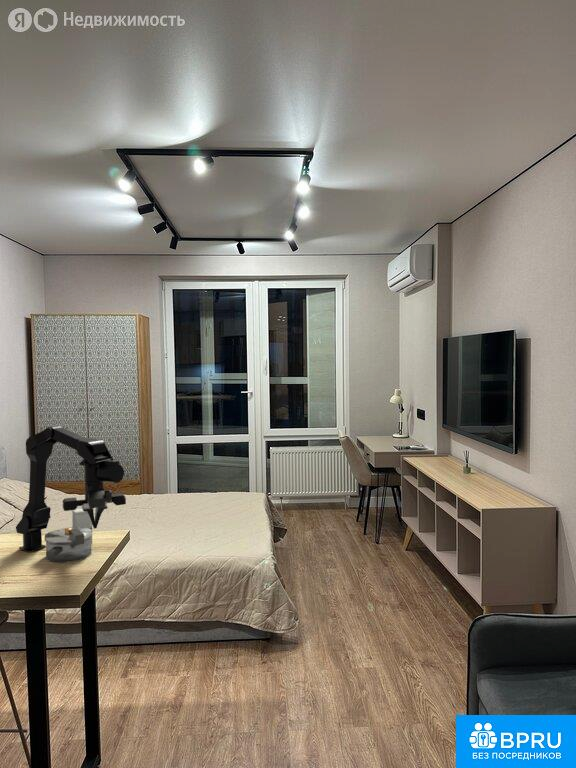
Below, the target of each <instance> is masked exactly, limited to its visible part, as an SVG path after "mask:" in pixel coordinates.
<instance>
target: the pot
mask: <svg viewBox="0 0 576 768" xmlns="http://www.w3.org/2000/svg"><path fill="white" fill-rule="evenodd" d="M45 546H46V547H45V556H46V557H45V558H46V560H47V561H48V562H50V563H55V564H57V563H58V564H62V563H73V562H78V561H81V560H84V559H87V558H89V557H90V556H91V555H92V544H91V537H90V538H88V539H85V540H84V544H80V545H75V544H74V543H65V544H55V543H49V542H46V541H45Z"/></svg>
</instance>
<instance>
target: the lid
mask: <svg viewBox="0 0 576 768" xmlns="http://www.w3.org/2000/svg"><path fill="white" fill-rule="evenodd" d="M91 536H92V537H93V529H92V530H91V529H89V528H83V527H73V526H72V527H65V528H59V529H54V530H51V531H49V532H47V533H46V534H45V535H44V541H45V543H46V542H49V543H55V544H65V543H74V544H75V545H80V544H84V540H85V539H88V538H90V537H91Z"/></svg>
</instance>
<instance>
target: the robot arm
mask: <svg viewBox="0 0 576 768" xmlns="http://www.w3.org/2000/svg"><path fill="white" fill-rule="evenodd" d="M57 443H60V444H62V445H64V446H67V447H68V448H71V449H73V450H74V451H76V454H77V455H78V456H80V458H82V460H81V461H80V462H79V463H78V464H79V466H84V467H83V468H84V469H83V471H84V499H77V497H69V498H68V497H67V498H63V499H62V509H63V511H64V512H68V511H72V510H77V509H78V507H81V509H83V511H87V512H88V514H89V517H90V519H91V522H92V529H93V530H94V529H97V528H98V525H99V522H100V518H101V517H102V513H103V512H104V511H105V510H107V509H108V506H107V505H108V504H110V503H111V504H113V505H115V506H124V505H126V504H127V498H126V496H125V495H124V493H122V492H116V493H112V490H111V489H108V490H105V489H104V488H105V487H104V482H107V483H115V484H118V483H120V482H121V481H122V480H123V479H124V475H125V470H124V467H123V466H122V465H121V464H120V461H119V460H117V459H116V460H114V458H113V456H112V454H111V452H110V450H109V449H108V447H107V445H106V442H105V441H104V440H103V439H98V438H90V437H84V436H82V435H80V434H78V433H74V432H73V431H71V430H68V429H66V428H64V427H63V426H61V425H51V426H47V427H46V428H45V429H43V430H42V431H40V432H37V433H36V434H34V435H30V436H29V437H28V438H27V439H26V440H25V452H26V453H25V454H26V455H27V457H28V459H29V460H30V469H29V471H30V472H29V473H30V474H29V485H28V486H29V487H28V489H29V491H28V492H29V493H28V503H27V504H26V505H25V507H24V509H23V511H22V516H21V519H20V521H19V522H18V524H17V525H16V526H15V530H16V533H17V534H21V535H22V546H19V547H18V549H19V550H22V551H24V552H27V553H30V552H34V551H38V550H41V549H46V544H43V542H42V541H43V540H42V539H43V537H42V536H43V535H42V530H44V529H47V528H48V525H49V524H48V523H49V521H50V519H51V511H52V510H51V509H52V508H51V507H50V506H48V505H47V503H46V501H45V496H46V495H45V494H46V478H47V477H46V476H47V461H48V459H49V458H50V456H51V455H52V453H53V449H54V446H55V445H56V444H57ZM94 509H95V512H94Z"/></svg>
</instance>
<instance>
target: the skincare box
mask: <svg viewBox="0 0 576 768" xmlns="http://www.w3.org/2000/svg"><path fill="white" fill-rule="evenodd" d="M71 511H72V516H71V518H72V521H71V522H72V525H71V526H72V527H83V528H89V529H91V530H92V531H93V525H92V522H91V519H90V517H89V514H88V512H87V511H83V509H82V508H76V509H75V510H71ZM92 544H93V535H92V536H91V545H92Z"/></svg>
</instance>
